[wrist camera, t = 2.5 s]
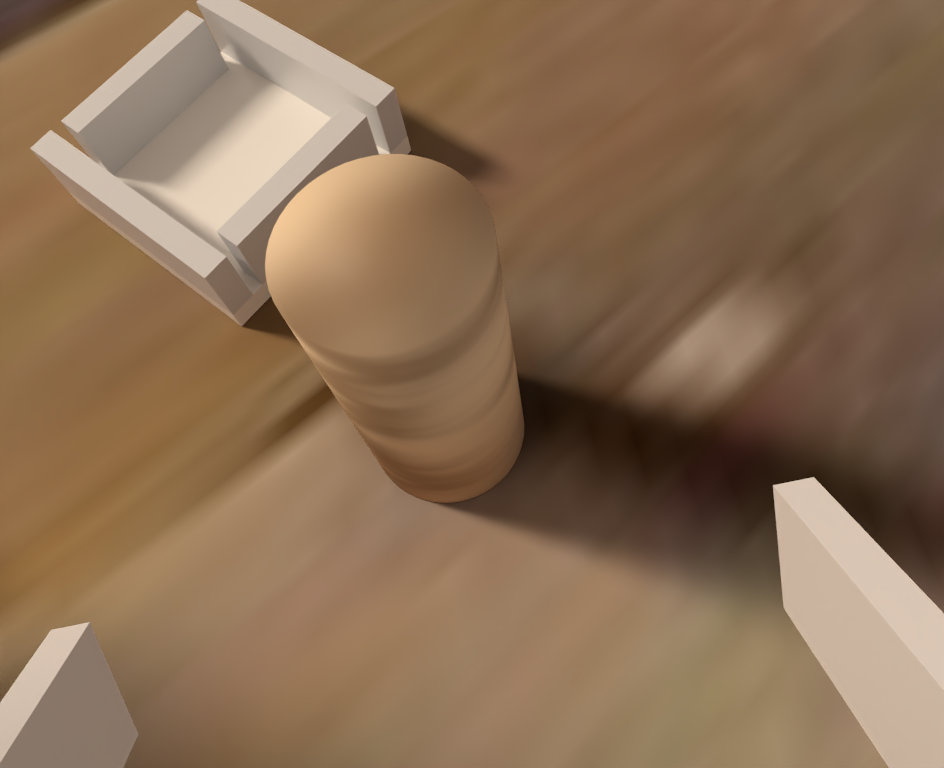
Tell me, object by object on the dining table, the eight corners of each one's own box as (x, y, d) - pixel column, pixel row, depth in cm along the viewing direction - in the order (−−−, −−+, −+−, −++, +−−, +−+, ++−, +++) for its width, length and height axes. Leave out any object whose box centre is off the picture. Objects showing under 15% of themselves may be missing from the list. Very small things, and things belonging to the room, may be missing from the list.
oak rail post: (343, 444, 33) (217, 273, 22) (439, 335, 35) (370, 120, 23) (459, 534, 31) (390, 399, 20) (555, 414, 33) (544, 222, 21)
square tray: (79, 203, 40) (30, 148, 36) (244, 51, 43) (214, -14, 39) (241, 326, 36) (204, 278, 33) (411, 150, 39) (394, 88, 35)
